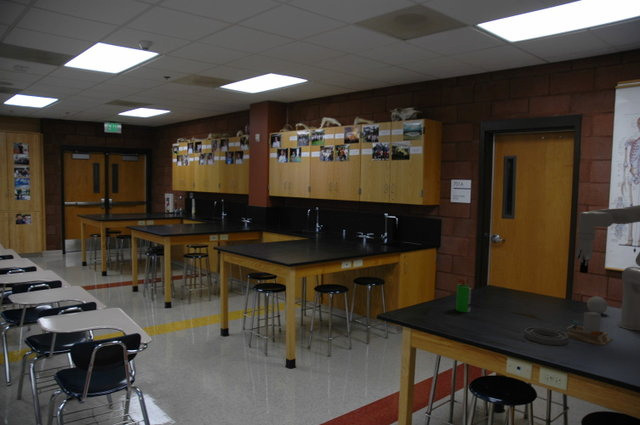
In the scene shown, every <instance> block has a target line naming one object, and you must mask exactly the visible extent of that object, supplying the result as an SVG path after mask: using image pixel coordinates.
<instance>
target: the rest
mask: <svg viewBox="0 0 640 425" xmlns="http://www.w3.org/2000/svg"><path fill="white" fill-rule="evenodd" d="M564 333H565V334H566V332H564ZM566 335H568V339H573V340H577V341H580V342H586V343H589V344H593V345H597V346H601V347H603V346H605V345H607V344H608V343H610V342H611V341H613V338H611V337H608V332H606V331H601V330H600V333H599V336H597V335H593V334H588V333H584V332H583V326H579V325H578V326H576V330H571V329H569V334H566Z"/></svg>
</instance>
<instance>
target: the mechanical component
mask: <svg viewBox="0 0 640 425" xmlns="http://www.w3.org/2000/svg"><path fill="white" fill-rule="evenodd" d="M565 333H566V332H563V331H560V330H558V329H553V328H548V327H541V326H531V327H530V326H529V327H526V328H525V329H524V337H525V338H526V339H528V340H530V341H532V342H535V343H540V344H543V345H550V346H561V345H562V346H564V345H567V344H568V339H569V338H568V335H566V334H565Z"/></svg>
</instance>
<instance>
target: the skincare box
mask: <svg viewBox="0 0 640 425" xmlns="http://www.w3.org/2000/svg"><path fill="white" fill-rule="evenodd" d="M601 320H602V313H601V314H599V313H596V312H591V311H587V312H586V311H585V312H583V325H582V327H583V332H584V333H588V334H593V335H597V336H599V333H600V331H601Z"/></svg>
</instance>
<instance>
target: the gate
mask: <svg viewBox="0 0 640 425" xmlns="http://www.w3.org/2000/svg"><path fill="white" fill-rule="evenodd" d="M576 326H579V321H578V320H573V321H572V325H570V326H568V327H566V330H565V333H566V334H569V329H571V330H576Z"/></svg>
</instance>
